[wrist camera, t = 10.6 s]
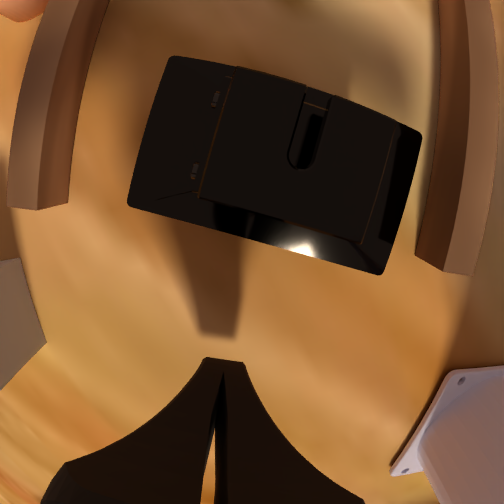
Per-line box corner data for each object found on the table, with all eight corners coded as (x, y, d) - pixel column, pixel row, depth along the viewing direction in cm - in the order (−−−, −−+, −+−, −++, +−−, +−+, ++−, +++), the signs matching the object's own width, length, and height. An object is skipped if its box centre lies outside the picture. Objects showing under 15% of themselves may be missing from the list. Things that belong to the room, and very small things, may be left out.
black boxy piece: (446, 133, 10) (527, 127, 6) (394, 301, 12) (454, 360, 7) (141, 37, 9) (92, -23, 5) (91, 221, 11) (16, 253, 6)
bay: (456, -37, 7) (475, -52, 5) (443, 260, 11) (472, 276, 9) (128, -93, 6) (117, -115, 4) (38, 199, 10) (6, 206, 8)
